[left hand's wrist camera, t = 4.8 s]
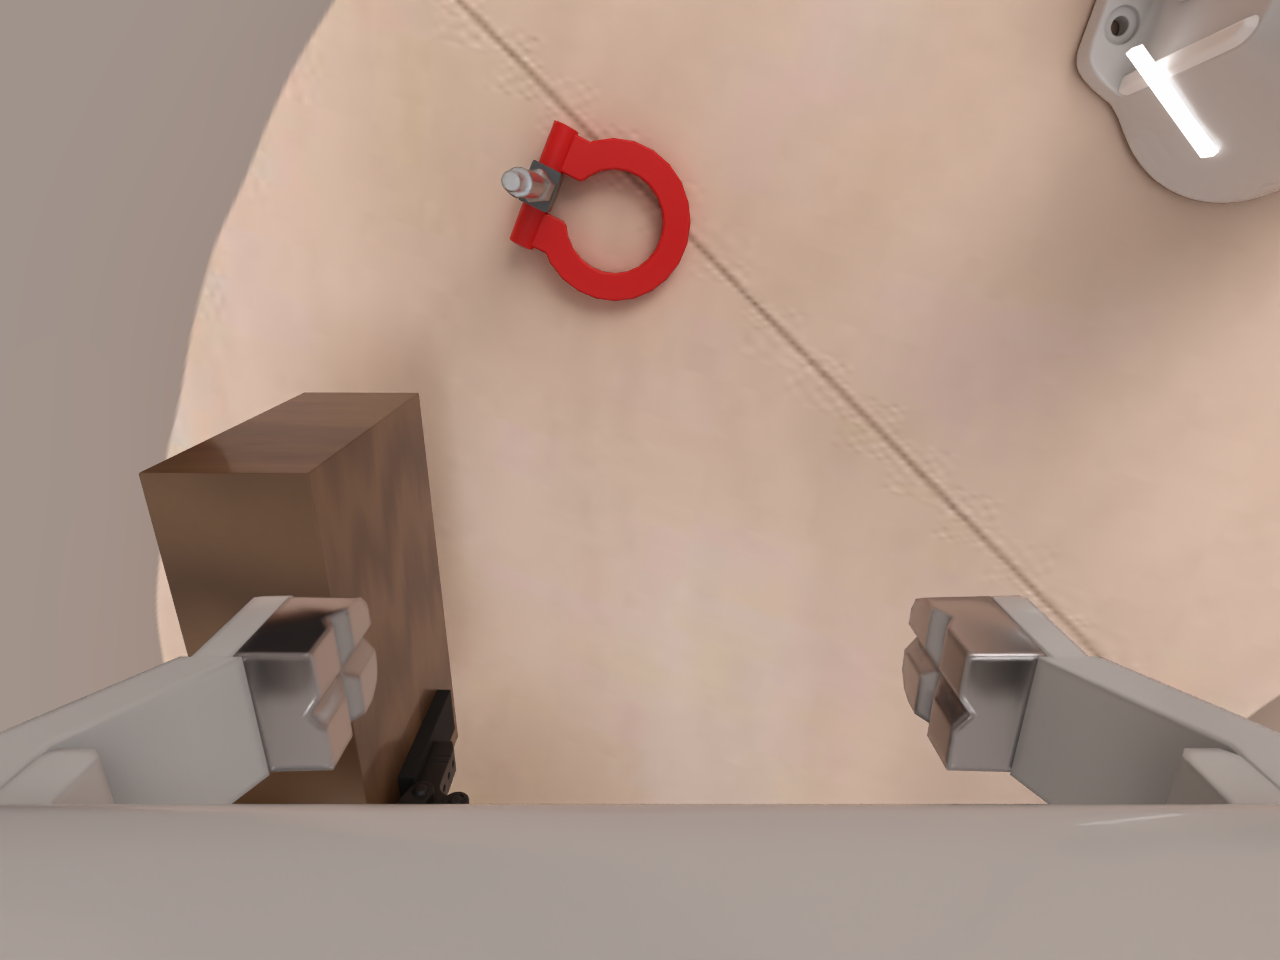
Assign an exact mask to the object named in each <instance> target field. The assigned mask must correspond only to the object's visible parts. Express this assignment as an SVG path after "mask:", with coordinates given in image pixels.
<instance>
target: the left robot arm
mask: <svg viewBox="0 0 1280 960" xmlns="http://www.w3.org/2000/svg"><path fill="white" fill-rule="evenodd" d="M1114 20H1116V21H1117V22H1118V23H1119V32H1118V34H1117V35H1116V36H1115V35H1113V34H1112V32H1111V24H1112V22H1113V21H1114ZM1076 63H1077V69H1078V71H1079V74H1080V75H1081V77H1082V78H1083V80H1084V81H1085V82H1086V83H1087V84H1088V85H1089V86H1090V87H1091V88H1092V89H1093V90H1094V91H1095V92H1096V93H1097V94H1098V95H1099V96H1101V97H1102V98H1103V99H1104V100H1105V101H1107V102H1108V103H1109V104H1110V105H1111V106H1112V108H1113V110H1114V111H1115V113H1116V115H1117V117H1118V119H1119V122H1120V125H1121V127H1122V130H1123V133H1124V135H1125V138H1126V141H1127V143H1128V145H1129V147H1130V149H1131V151H1132V153H1133V154H1134V156H1135V158H1136V159H1137V161H1138V162H1139V163H1140V165H1141V166H1142V167H1143V168H1144V170H1145V171H1146V172H1147V173H1148V174H1149V175H1150V176H1151V177H1152V178H1153V179H1154V180H1156V181H1157V182H1158V183H1159V184H1161V185H1162V186H1164V187H1165V188H1167V189H1168V190H1170V191H1172V192H1174V193H1176V194H1179V195H1181V196H1184V197H1186V198H1190V199H1193V200H1198V201H1203V202H1211V203H1232V202H1241V201H1246V200H1251V199H1255V198H1259V197H1262V196H1265V195H1268V194H1271V193H1274V192H1276V191H1279V190H1280V0H1096V2H1095V5H1094V8H1093V10H1092V13H1091V16H1090V18H1089V21H1088V24H1087V27H1086V29H1085V32H1084V35H1083V38H1082V40H1081V43H1080V46H1079V49H1078V53H1077V59H1076ZM370 625H371V620H370V615H369V610H368V605H367V603H366V602H365V601H364V600H363V599H362V598H361V597H316V596H295V597H294V596H291V595H288V596H260V597H254V598H253V599H252V600H251V601H250V602H248V603H247V604H246V605H245V606H244V607H243V608H242V609H241V610H240V611H239V612H238V613H237V614H236V615H235V616H234V617H233V618H232V619H231V620H229V621H228V622H227V623H226V624H225V625H224V626H223V627H222V628H221V629H220V630H219V631H218V632H217V633H216V634H215V635H214V636H213V637H211V638H210V639H209V640H208V641H207V642H206V643H205V644H204V645H203V646H202V647H201V648H200V649H199V650H198V651H197V652H196V653H195V654H194V655H192V656H191V657H178V658H176V659H173V660H171V661H169V662H166V663H164V664H161V665H159V666H157V667H154V668H152V669H150V670H147V671H145V672H142V673H140V674H138V675H135V676H133V677H130V678H128V679H126V680H123V681H121V682H119V683H116V684H114V685H111V686H109V687H107V688H104V689H102V690H100V691H97V692H95V693H92V694H90V695H88V696H85V697H83V698H81V699H78V700H76V701H73V702H71V703H69V704H66V705H64V706H62V707H59V708H57V709H54V710H52V711H50V712H47V713H45V714H42V715H40V716H38V717H35V718H33V719H31V720H28V721H26V722H23V723H21V724H19V725H16V726H14V727H12V728H9V729H7V730H5V731H2V732H0V960H1280V732H1277V731H1275V730H1273V729H1270V728H1268V727H1266V726H1263V725H1261V724H1258V723H1256V722H1254V721H1251V720H1249V719H1247V718H1244V717H1242V716H1239V715H1237V714H1235V713H1232V712H1230V711H1228V710H1225V709H1223V708H1221V707H1218V706H1216V705H1213V704H1211V703H1209V702H1206V701H1204V700H1202V699H1199V698H1197V697H1194V696H1192V695H1190V694H1187V693H1185V692H1183V691H1180V690H1178V689H1175V688H1173V687H1171V686H1168V685H1166V684H1164V683H1161V682H1159V681H1157V680H1154V679H1152V678H1149V677H1147V676H1145V675H1142V674H1140V673H1138V672H1135V671H1133V670H1130V669H1128V668H1126V667H1123V666H1121V665H1119V664H1116V663H1114V662H1111V661H1109V660H1107V659H1104V658H1102V657H1089V656H1088V655H1087V654H1085V653H1084V652H1083V651H1082V650H1081V649H1080V648H1079V647H1078V646H1077V645H1076V644H1075V643H1074V642H1073V641H1072V640H1071V639H1070V638H1069V637H1068V636H1066V635H1065V634H1064V633H1063V632H1062V631H1061V630H1060V629H1059V628H1058V627H1057V626H1056V625H1055V624H1054V623H1053V622H1052V621H1051V620H1050V619H1049V618H1048V617H1046V616H1045V615H1044V614H1043V613H1042V612H1041V611H1040V610H1039V609H1038V608H1037V607H1036V606H1035V605H1034V604H1033V603H1032V602H1031V601H1030V600H1029V599H1028V598H1025V597H1022V596H1019V595H1012V596H977V597H936V598H919V599H916V600H915V602H914V604H913V606H912V608H911V613H910V619H909V625H910V627H911V628H912V630H913V631H914V633H915V634H916V636H917V637H916V638H915V639H914V641H913V642H912V643H911V644H910V645H909V646H908V647H907V648H906V649H905V651H904V659H903V667H902V672H903V683H904V690H905V693H906V696H907V699H908V702H909V704H910V706H911V708H912V709H913V711H914V713H915V714H916V715H918V716H919V717H921V718H922V719H924V720H926V721H927V722H929V727H928V733H927V736H928V738H929V740H930V741H931V743H932V745H933V747H934V748H935V750H936V752H937V754H938V755H939V757H940V759H941V761H942V762H943V764H944V766H945V767H946V769H947V770H960V771H997V772H1011V773H1010V775H1011V776H1013V777H1014V778H1015V779H1017V780H1018V781H1019V782H1021V783H1022V784H1023V785H1024V786H1026V787H1027V788H1028V789H1030V790H1031V791H1032V792H1034V793H1035V794H1036V795H1038V796H1039V797H1040V798H1042V799H1043V800H1044V801H1045V802H1047V803H1048V804H232V803H233V802H235V801H236V800H237V799H239V798H240V797H241V796H243V795H244V794H245V793H247V792H248V791H249V790H251V789H252V788H253V787H254V786H256V785H257V784H258V783H260V782H261V781H262V780H264V779H265V778H266V777H268V776H269V772H282V771H318V770H333V769H334V768H335V766H336V764H337V762H338V761H339V759H340V757H341V755H342V754H343V752H344V750H345V748H346V747H347V745H348V743H349V741H350V740H351V738H352V736H353V733H352V727H351V722H353V721H354V720H356V719H358V718H359V717H361V716H362V715H364V714H365V713H366V711H367V709H368V707H369V706H370V704H371V702H372V700H373V696H374V692H375V688H376V683H377V658H376V651H375V649H374V648H373V647H372V646H371V645H370V644H369V643H368V642H367V641H366V639H365V638H364V637H363V636H364V634H365V633H366V631H367V630H368V628H369V627H370Z"/></svg>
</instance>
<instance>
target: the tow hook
mask: <svg viewBox="0 0 1280 960" xmlns="http://www.w3.org/2000/svg"><path fill="white" fill-rule="evenodd" d="M578 134H579V133H578V132H577V131H575V130H574V129H572V128H570V127H569V126H567V125H565V124H563V123H561V122H559V121H554V124H553V126H552V129H551V132H550V134H549V137H548V139H547V142H546V145H545V147H544V150H543V152H542V155H541V158H540V160H539V162H538V161H536V160H534V161H533V162H532V164H531V167H530V169H529V170H527V169H524V168H521V167H515V168H512V169H510V170H509V171H507V172H505V173H504V174H503V176H502V179H501V181H502V185H503V187H504V188H505V190H507V191H508V192H509V194H510V195H512V196H513V197H516V198H519V200H521V201H523V205H522V207H521V210H520V213H519V215H518V218H517V220H516V223H515V226H514V228H513V231H512V233H511V236H510V240H511V241H513V242H514V243H515V244H517V245H519V246H521V247H524V248H526V249H532V250H533V247H534V248H536V249H538V250H540V251H542V252H545V253H546V255H547V257H548V259H549V261H550V263H551V265H552V266H553V267H554V268H555V270H556V271H557V272H558V274H559V275H560V276H561V277H562V279H564V280H565V281H566V282H567V283H569V284H570V285H571V286H573V287H574V288H575V289H576V290H578V291H580V292H582V293H585V294H587V295H589V296H592V297H594V298H597V299H604V300H612V301H619V300H626V299H634V298H636V297H639V296H641V295H643V294H646V293H648V292H650V291H652V290H654V289H655V288H656V287H657V286H659V285H660V284H661V283H662V282H664V281H665V280H666V279H667V278H668V277H669V276H670V274H671V273H672V272H673V270H674V269H675V268H676V266H677V265H678V264H679V262H680V260H681V257H682V255H683V253H684V250H685V248H686V246H687V242H688V235H689V229H690V214H689V204H688V200H687V197H686V194H685V191H684V188H683V185H682V183H681V181H680V179H679V178H678V176H677V175H676V173H675V172H674V170H673V169H672V167H671V166H670V164H669V163H667V162H666V161H665V160H664V159H663V158H662V157H660V156H659V155H658V154H657V153H656V152H655V151H654V150H652V149H650V148H647V147H645V146H643V145H641V144H639V143H637V142H635V141H629V140H622V139H616V138H611V139H604V140H597V141H592V142H589V141H588V140H586V139H584V138H582V137H580V136H578ZM606 170H621V171H627V172H629V173H632V174H634V175H636V176H638V177H640V178H641V179H642V180H643V181H644V182H646V183H647V184H648V185H649V186H650V188H651V189H652V190H653V192H654V193H655V195H656V196H657V199H658V201H659V204H660V207H661V210H662V219H663V226H662V233H661V238H660V240H659V242H658V245H657V247H656V249H655V251H654V252H653V253H652V255H651V256H650V257H649V259H647V260H646V261H645V262H644V263H642V264H641V265H640V266H639V267H636V268H634V269H632V270H629V271H627V272H619V273H611V272H603V271H601V270H598V269H596V268H594V267H591V266H590V265H589V264H587V263H586V262H585V261H584V260H582V259H581V258H580V256H579V255H578V254H577V252H576V251H575V250H574V249H573V247H572V244H571V242H570V239H569V237H568V233H567V227H566V224H565V223H564V222H563V221H562V220H560V219H558V218H556V217H554V216H552V215H550V214H548V213H547V212H550V210H551V208H552V205H553V203H554V200H555V198H556V195H557V193H558V190H559V188H560V185H561V183H562V180H563V178H564V175H563V173H564V174H566V175H568V176H570V177H572V178H574V179H576V180H578V181H584V180H586V179H587V178H588V177H589V176H592V175H594V174H596V173H598V172H601V171H606ZM561 173H562V174H561Z"/></svg>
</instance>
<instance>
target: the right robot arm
mask: <svg viewBox="0 0 1280 960" xmlns="http://www.w3.org/2000/svg"><path fill="white" fill-rule="evenodd" d="M454 730H455V724H454V715H453V707H452V698H451V690H437V691H436V694H435V696H434V698H433V700H432V702H431V705H430V707H429V709H428V711H427V713H426V716H425V718H424V720H423V722H422V724H421V727H420V729H419V731H418V733H417V735H416V738H415V740H414V742H413V744H412V746H411V749H410V751H409V753H408V755H407V757H406V759H405V762H404V764H403V766H402V768H401V770H400V773H399V775H398V783H399V790H400V796H401V798H400V800H399V801H398V802H397V803H396V804H469V798H468V796H467V795H466V794H465V793H463V792H454V793H451V794H449V795H447V794H448V791H449V789H450V786H451V783H452V780H453V777H454V775H455V772H456V764H455V756H454V748H453V742H452V741H450V740H451V738H452V735H453V733H454Z"/></svg>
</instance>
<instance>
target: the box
mask: <svg viewBox="0 0 1280 960" xmlns="http://www.w3.org/2000/svg"><path fill="white" fill-rule="evenodd" d="M139 477H140V480H141V484H142V488H143V491H144V495H145V499H146V502H147V506H148V510H149V513H150V517H151V521H152V524H153V528H154V532H155V536H156V539H157V543H158V547H159V550H160V554H161V558H162V561H163V565H164V569H165V572H166V576H167V580H168V583H169V587H170V591H171V594H172V598H173V602H174V606H175V609H176V613H177V617H178V620H179V624H180V628H181V631H182V635H183V639H184V642H185V646H186V650H187V653H188V657H191V656H192V655H194V654H195V653H196V652H197V651H198V650H199V649H200V648H201V647H202V646H203V645H204V644H205V643H206V642H207V641H208V640H209V639H210V638H211V637H213V636H214V635H215V634H216V633H217V632H218V631H219V630H220V629H221V628H222V627H223V626H224V625H225V624H226V623H227V622H228V621H229V620H231V619H232V618H233V617H234V616H235V615H236V614H237V613H238V612H239V611H240V610H241V609H242V608H243V607H244V606H245V605H246V604H247V603H248V602H250V601H251V600H252V599H253V598H254V597H260V596H288V595H291V596H294V597H295V596H316V597H361V598H362V599H363V600H364V601H365V602H366V603H367V605H368V610H369V615H370V620H371V625H370V627H369V628H368V630H367V631H366V633H365V634H364V636H363V637H364V638H365V639H366V641H367V642H368V643H369V644H370V645H371V646H372V647H373V648H374V649H375V651H376V658H377V683H376V688H375V692H374V696H373V700H372V702H371V704H370V706H369V707H368V709H367V711H366V713H365V714H364V715H362V716H361V717H359V718H358V719H356V720H354V721H353V722H351V727H352V733H353V736H352V738H351V740H350V741H349V743H348V745H347V747H346V748H345V750H344V752H343V754H342V755H341V757H340V759H339V761H338V762H337V764H336V766H335V768H334V769H333V770H318V771H282V772H269V776H268V777H266V778H265V779H264V780H262V781H261V782H260V783H258V784H257V785H256V786H254V787H253V788H252V789H251V790H249V791H248V792H247V793H245V794H244V795H243V796H241V797H240V798H239V799H237V800H236V801H235V802H233V803H232V804H396V803H397V802H398V801H399V800H400V798H401V796H400V790H399V783H398V775H399V773H400V770H401V768H402V766H403V764H404V762H405V759H406V757H407V755H408V753H409V751H410V749H411V746H412V744H413V742H414V740H415V738H416V735H417V733H418V731H419V729H420V727H421V724H422V722H423V720H424V718H425V716H426V713H427V711H428V709H429V707H430V705H431V702H432V700H433V698H434V696H435V694H436V691H437V690H451V698H452V707H453V715H454V724H455V730H454V733H453V735H452V738H451V740H450V741H452V742H453V748H454V745H455V742H456V740H457V737H458V733H457V725H456V716H455V707H454V698H453V690H452V681H451V672H450V663H449V655H448V646H447V637H446V628H445V620H444V611H443V602H442V593H441V585H440V576H439V567H438V558H437V550H436V541H435V532H434V523H433V515H432V506H431V497H430V488H429V480H428V471H427V462H426V453H425V445H424V436H423V427H422V419H421V410H420V401H419V394H418V393H303V394H301V395H299V396H296V397H294V398H292V399H290V400H288V401H286V402H284V403H282V404H280V405H278V406H276V407H274V408H272V409H270V410H268V411H266V412H264V413H262V414H259V415H257V416H255V417H253V418H251V419H249V420H247V421H245V422H243V423H241V424H239V425H237V426H235V427H233V428H231V429H229V430H227V431H225V432H222V433H220V434H218V435H216V436H214V437H212V438H210V439H208V440H206V441H204V442H202V443H200V444H198V445H196V446H194V447H192V448H190V449H188V450H185V451H183V452H181V453H179V454H177V455H175V456H173V457H171V458H169V459H167V460H165V461H163V462H161V463H159V464H157V465H155V466H153V467H151V468H148V469H146V470H144V471H142V472H140V473H139Z"/></svg>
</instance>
